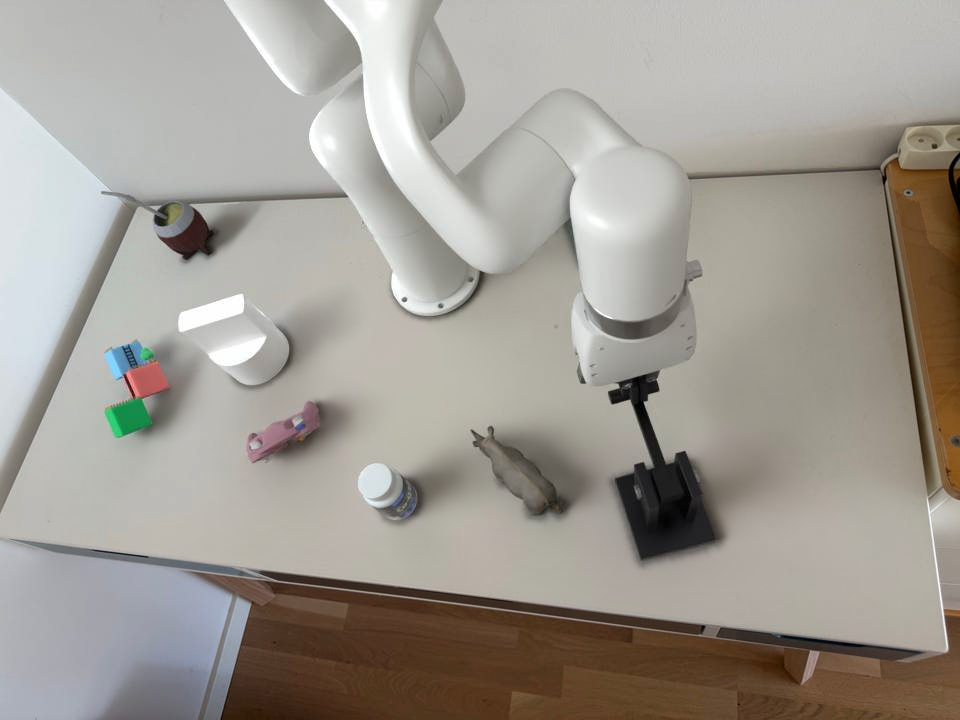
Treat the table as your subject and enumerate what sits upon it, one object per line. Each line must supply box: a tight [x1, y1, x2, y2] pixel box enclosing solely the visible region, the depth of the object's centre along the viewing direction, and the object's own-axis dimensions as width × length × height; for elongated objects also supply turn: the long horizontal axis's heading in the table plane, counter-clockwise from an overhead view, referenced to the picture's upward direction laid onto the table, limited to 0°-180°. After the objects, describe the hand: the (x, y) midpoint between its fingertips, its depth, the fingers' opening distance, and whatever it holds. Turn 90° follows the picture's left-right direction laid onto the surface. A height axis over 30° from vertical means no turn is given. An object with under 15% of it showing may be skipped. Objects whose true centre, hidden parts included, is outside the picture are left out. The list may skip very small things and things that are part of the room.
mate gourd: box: [100, 190, 215, 261], centre depth 98 cm, size 8×8×15 cm
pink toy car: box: [245, 400, 320, 464], centre depth 82 cm, size 10×5×7 cm, turn 118°
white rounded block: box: [177, 293, 290, 386], centre depth 87 cm, size 9×9×12 cm
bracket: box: [614, 450, 717, 562], centre depth 66 cm, size 9×8×12 cm
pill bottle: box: [357, 462, 418, 521], centre depth 74 cm, size 5×5×8 cm
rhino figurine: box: [470, 425, 564, 517], centre depth 73 cm, size 4×14×6 cm, turn 42°
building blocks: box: [103, 338, 170, 439], centre depth 90 cm, size 8×8×12 cm
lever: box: [607, 379, 684, 504], centre depth 64 cm, size 12×5×2 cm, turn 12°
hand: (635, 390), depth 66 cm, fingers closed
